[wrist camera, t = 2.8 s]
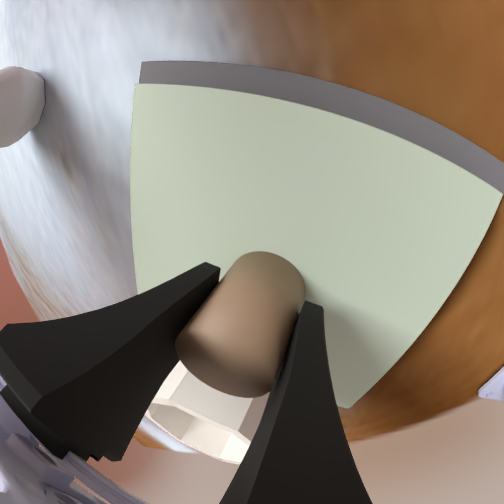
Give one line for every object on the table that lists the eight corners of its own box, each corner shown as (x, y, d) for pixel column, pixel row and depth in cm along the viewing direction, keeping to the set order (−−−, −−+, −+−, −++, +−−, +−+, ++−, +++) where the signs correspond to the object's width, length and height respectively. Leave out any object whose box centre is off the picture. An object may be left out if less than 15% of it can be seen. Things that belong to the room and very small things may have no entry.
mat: (508, 167, 6) (512, 169, 6) (358, 396, 14) (357, 400, 14) (146, 62, 9) (141, 61, 9) (145, 311, 17) (143, 313, 17)
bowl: (305, 397, 16) (288, 448, 13) (267, 439, 22) (253, 472, 19) (159, 335, 18) (127, 374, 15) (168, 396, 24) (149, 424, 21)
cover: (495, 188, 6) (572, 260, 2) (349, 400, 13) (333, 471, 9) (145, 83, 8) (42, 95, 5) (147, 317, 16) (102, 369, 12)
